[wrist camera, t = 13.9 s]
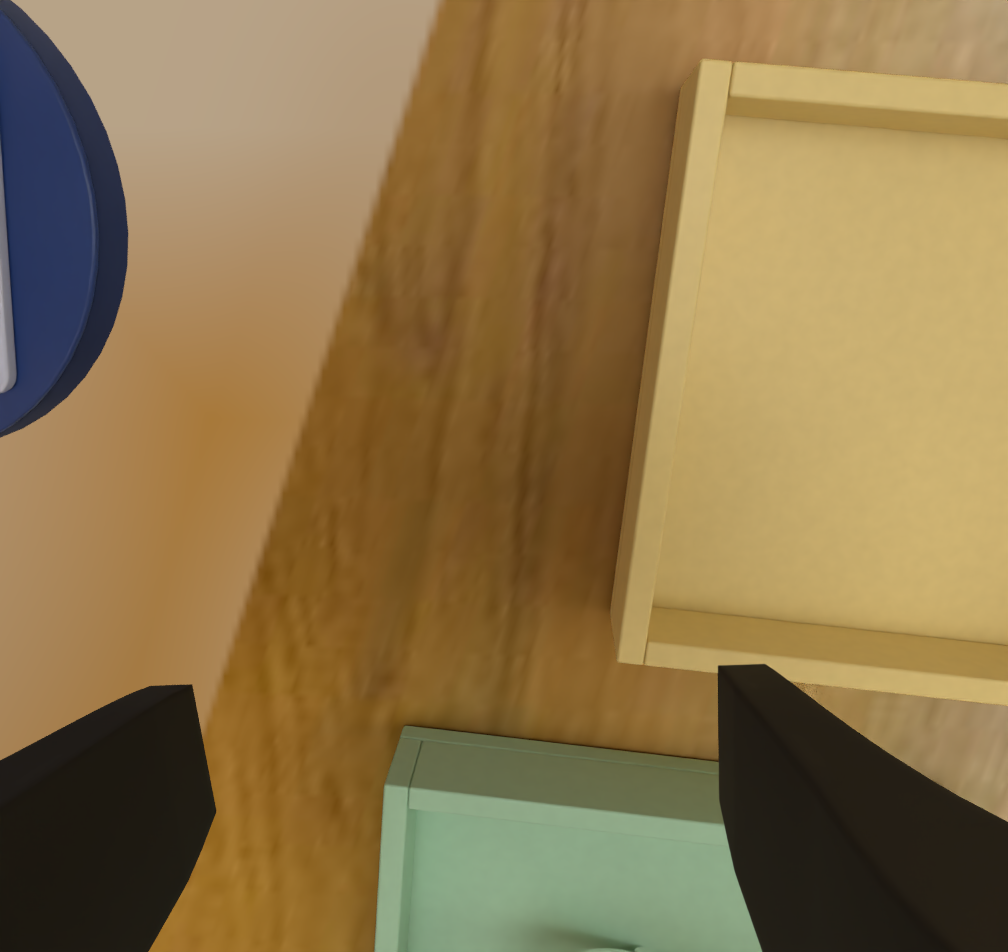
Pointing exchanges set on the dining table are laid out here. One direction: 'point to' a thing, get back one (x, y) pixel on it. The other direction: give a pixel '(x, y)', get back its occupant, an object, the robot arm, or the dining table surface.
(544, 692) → the dining table surface
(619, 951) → the ring
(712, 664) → the yellow tray
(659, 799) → the green tray
